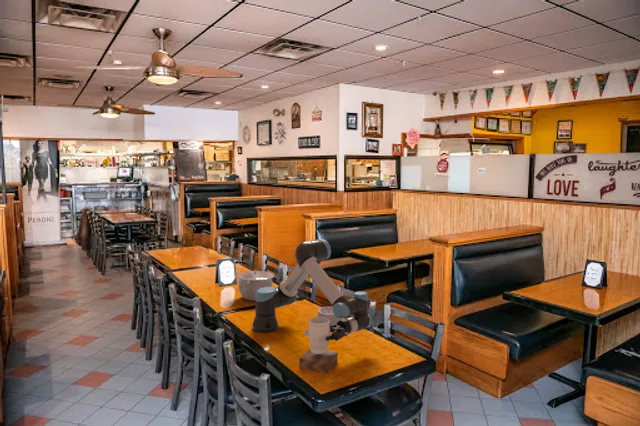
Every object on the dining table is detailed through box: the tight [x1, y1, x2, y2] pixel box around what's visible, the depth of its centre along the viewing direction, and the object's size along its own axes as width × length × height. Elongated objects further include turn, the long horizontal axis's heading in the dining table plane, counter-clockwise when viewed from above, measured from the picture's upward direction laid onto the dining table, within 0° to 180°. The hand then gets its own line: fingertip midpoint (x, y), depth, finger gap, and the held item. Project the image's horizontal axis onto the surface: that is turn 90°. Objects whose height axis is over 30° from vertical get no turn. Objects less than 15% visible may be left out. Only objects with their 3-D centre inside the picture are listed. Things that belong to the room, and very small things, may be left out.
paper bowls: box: [317, 306, 344, 325], centre depth 276 cm, size 15×15×8 cm
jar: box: [308, 316, 331, 354], centre depth 217 cm, size 11×10×15 cm
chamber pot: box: [235, 269, 275, 302], centre depth 325 cm, size 28×28×21 cm
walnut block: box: [298, 347, 339, 374], centre depth 218 cm, size 14×14×5 cm
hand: (312, 336), depth 214 cm, fingers closed on jar, 10 cm apart
